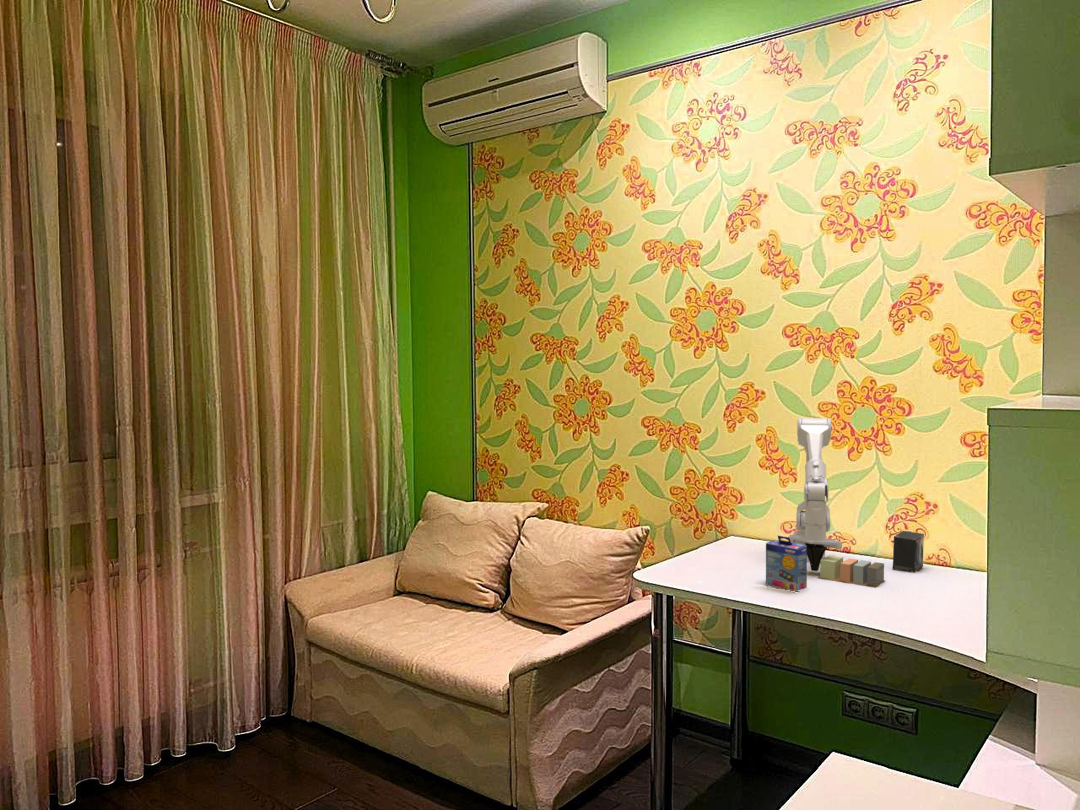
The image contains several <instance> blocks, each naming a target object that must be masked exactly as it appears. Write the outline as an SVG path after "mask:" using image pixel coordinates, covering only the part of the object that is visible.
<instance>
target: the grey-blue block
mask: <svg viewBox="0 0 1080 810" xmlns="http://www.w3.org/2000/svg"><path fill="white" fill-rule="evenodd" d="M870 565H872V561H870V560H863V559H861V560H860V561H859V560H858V563H856V564H855V565H853V583H856V584H862V585H863V584H864V583H866V582H867V567H868V566H870Z"/></svg>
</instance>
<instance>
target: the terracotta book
mask: <svg viewBox="0 0 1080 810" xmlns="http://www.w3.org/2000/svg"><path fill="white" fill-rule="evenodd" d="M858 562H859V559H855V558H850V557H849V558H847V559H845V560H843V562H842V563H840V581H843V582H851V581H853V565H855V564H856V563H858Z"/></svg>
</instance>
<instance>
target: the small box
mask: <svg viewBox="0 0 1080 810" xmlns="http://www.w3.org/2000/svg"><path fill="white" fill-rule="evenodd" d="M924 539H925V534H924V533H921V532H920V533H919V532H914V531H907V530H902V531H900V532H899V533H897V534H895V535H894V536H893V546H892V548H893V550H892V551H893V555H892V569H891V570H893V571H898V572H904V573H911V574H915V573H916V572H917V573H918V572H920V570H922V569H923V568H924V547H925V546H924V543H925V540H924ZM922 567H923V568H922Z"/></svg>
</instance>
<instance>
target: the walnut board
mask: <svg viewBox="0 0 1080 810" xmlns="http://www.w3.org/2000/svg"><path fill="white" fill-rule="evenodd" d="M817 579H818V580H819V579H820V580H825V581H832V582H837V583H842V584H849V585H850V584H851V585H855V586H856V585H857V586H861V587H867V588H874V589H876V588H878V587H879V586H881V585H882V584H884V583H885V582H886V580H885V579H884V581H883V582H882V583H881V584H879V585H878V586H876V587H874V586H868V585H867V582H866V583H864V584H863V585H862V584H856V583H853V581H851V582H843V581H840V577H838V578H837V579H835V580H832V579H826V578H820V576H819V577H817Z"/></svg>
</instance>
